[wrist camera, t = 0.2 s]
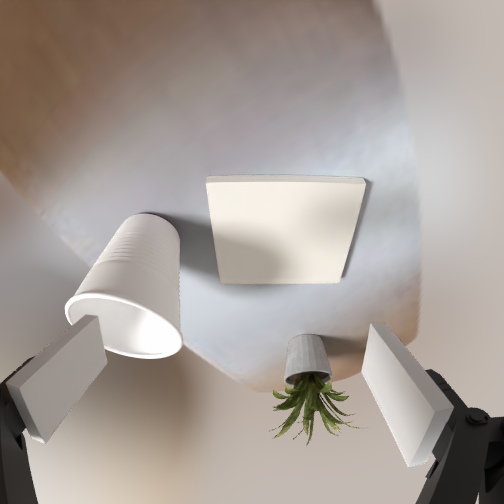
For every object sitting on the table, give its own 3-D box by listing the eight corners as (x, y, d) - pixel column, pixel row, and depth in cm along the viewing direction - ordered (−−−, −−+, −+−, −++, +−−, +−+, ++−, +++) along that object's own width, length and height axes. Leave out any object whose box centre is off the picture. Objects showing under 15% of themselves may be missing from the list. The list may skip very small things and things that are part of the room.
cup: (177, 183, 25) (145, 289, 18) (212, 260, 32) (201, 358, 25) (88, 207, 27) (41, 299, 19) (132, 272, 34) (108, 358, 26)
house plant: (368, 312, 40) (389, 427, 28) (350, 354, 50) (361, 443, 38) (264, 319, 41) (265, 440, 29) (268, 360, 51) (270, 452, 39)
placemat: (207, 176, 25) (205, 182, 24) (362, 177, 24) (366, 184, 24) (221, 276, 34) (220, 284, 33) (337, 275, 34) (338, 282, 33)
